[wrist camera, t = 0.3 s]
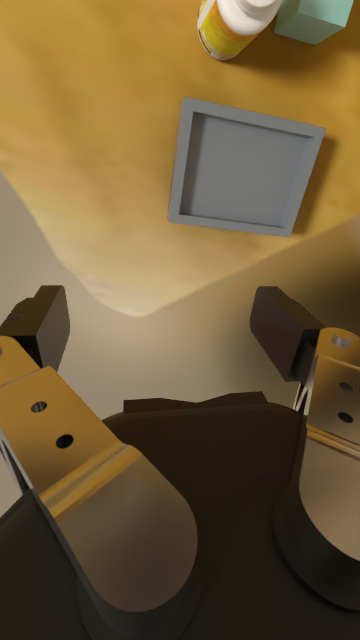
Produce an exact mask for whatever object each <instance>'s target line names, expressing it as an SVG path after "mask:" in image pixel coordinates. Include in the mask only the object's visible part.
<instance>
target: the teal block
mask: <svg viewBox="0 0 360 640" xmlns="http://www.w3.org/2000/svg"><path fill="white" fill-rule="evenodd" d="M353 1H354V0H282V2H281V4H280V7H279V11H278V15H277V20H276V24H275V29H274V33H275V34H278V35H282V36H285V37H289V38H292V39H296V40H299V41H303V42H306V43H309V44H313V45H317V44H318V43H320V42H322V41H323V40H325V39H327V38H328V37H330V36H332V35H333V34H335V33H337V32H338V31H340V30H342V29H343V28H345V26H346V23H347V20H348V17H349V14H350V11H351V7H352V4H353Z"/></svg>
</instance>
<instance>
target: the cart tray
mask: <svg viewBox="0 0 360 640" xmlns="http://www.w3.org/2000/svg"><path fill="white" fill-rule="evenodd" d="M325 130H326V128H324V127H319V126H315V125H310V124H306V123H301V122H297V121H292V120H288V119H283V118H279V117H274V116H270V115H265V114H261V113H256V112H252V111H247V110H243V109H238V108H234V107H229V106H225V105H220V104H216V103H211V102H207V101H202V100H198V99H193V98H189V97H185V98H184V99H183V100H182V101H181V107H180V116H179V124H178V132H177V141H176V149H175V157H174V165H173V174H172V182H171V190H170V199H169V207H168V215H167V219H168V221H169V222H172V223H179V224H187V225H195V226H203V227H211V228H219V229H227V230H235V231H243V232H251V233H259V234H266V235H274V236H282V237H290V235H291V232H292V229H293V226H294V223H295V220H296V217H297V214H298V211H299V208H300V205H301V202H302V199H303V196H304V193H305V190H306V187H307V184H308V181H309V178H310V175H311V172H312V169H313V166H314V163H315V160H316V157H317V154H318V151H319V148H320V145H321V142H322V139H323V136H324V133H325Z"/></svg>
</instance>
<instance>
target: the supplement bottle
mask: <svg viewBox="0 0 360 640" xmlns="http://www.w3.org/2000/svg"><path fill="white" fill-rule="evenodd" d="M281 2H282V0H202V2H201V5H200V8H199V13H198V22H197V23H198V33H199V38H200V41H201V43H202V45H203V47H204V49H205V50H206V52H207V53H208V54H209V55H211V56H212V57H213V58H216V59H218V60H228V59H231V58H233V57H235V56H236V55H237V54H239V53H240V52H241V51H242V50H243V49H244V48H245V47H246V46H247V45H248V44H249V43H250V42H251V41H252V40H253V39H254V38H255V37H256V36H257V35H258V34H259V33H260V32H261V31H262V30H264V29H265V28H266V27H267V26H268V24H269V23H270V22H271V21H272V20H273V18H274V17H275V15H276V13H277V11H278V9H279V7H280V4H281Z"/></svg>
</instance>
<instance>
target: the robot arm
mask: <svg viewBox="0 0 360 640" xmlns="http://www.w3.org/2000/svg"><path fill="white" fill-rule="evenodd" d="M250 328H251V331H252V333H253V334H254V336H255V337H256V339H257V340H258V342H259V343H260V345H261V346H262V348H263V349H264V350H265V352H266V353H267V355H268V356H269V358H270V359H271V361H272V362H273V364H274V365H275V367H276V368H277V369H278V371H279V373H280V374H281V376H282V377H283V378H284V380H285V381H286V382H291V381H300V382H301V383H300V386H299V388H298V391H297V395H296V399H295V403H294V407H293V409H291V408H288V407H286V406H283V405H280V404H276V403H271V402H268V401H267V400H266V398H265V396H264V394H263V393H262V391H261V392H246V393H230V394H227V395H224V396H220V397H216V398H213V399H210V400H206V401H203V402H198V403H194V402H186V401H178V400H171V399H164V398H152V399H137V400H124V410H123V412H120V413H117V414H115V415H112V416H110V417H107V418H105V419H103V420H102V421H101V420H100V419H99V418H98V417H97V416H96V414H95V413H94V412H93V411H92V410H91V409H90V408H89V407H88V406H87V405H86V404H85V403H84V402H83V400H82V399H81V398H80V397H79V396H78V395H77V394H76V393H75V392H74V391H73V390H72V389H71V388H70V386H69V385H68V384H67V383H66V382H65V381H64V380H63V379H62V378H61V377H60V376H59V375H58V373H57V371H58V367H59V365H60V362H61V359H62V355H63V352H64V350H65V346H66V343H67V340H68V337H69V333H70V321H69V314H68V307H67V300H66V294H65V289H64V287H63V286H62V285H60V286H59V285H48V286H47V285H45V286H44V285H43V286H41V287H40V289H39V290H38V292H37V293H36V295H35V296H34V298H26V299H25V300H23V301H22V302H20V303H18V304H17V305H16V306H15V307H14V309H13V310H12V311H11V313H10V314H9V315H8V317H7V319H6V320H5V321H4V322H3V323H2V325H1V326H0V454H1V456H2V458H3V459H4V461H5V463H6V465H7V467H8V469H9V471H10V473H11V475H12V477H13V479H14V482H15V484H16V486H17V488H18V490H19V492H20V494H21V497H20V498H19V499H18V500H17V501H16V502H15V503H14V504H13V505H12V506H11V508H9V510H7V511H6V513H5V514H4V515H3V516H2V517H1V518H0V640H360V338H359V337H357V336H356V335H354V334H352V333H350V332H348V331H345V330H342V329H338V328H326V327H325V326H324V325H323V324H322V323H321V322H320V321H318V320H317V319H316V318H315V317H314V316H313V315H311V313H309V312H308V311H307V310H305V308H304V307H303V306H302V305H301V304H299V303H298V302H296V301H294V300H293V299H290V298H289V297H288V296H287V295H286V294H285V293H284V292H283V291H282V290H280V289H279V288H278V287H276V286H260V287H258V289H257V291H256V294H255V299H254V303H253V307H252V312H251V317H250Z"/></svg>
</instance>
